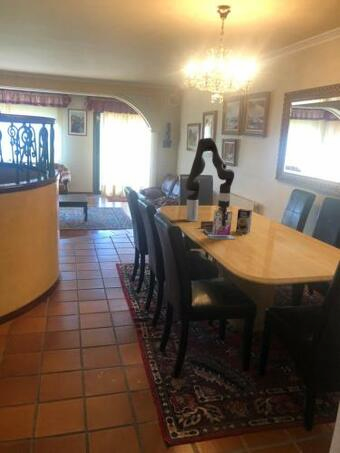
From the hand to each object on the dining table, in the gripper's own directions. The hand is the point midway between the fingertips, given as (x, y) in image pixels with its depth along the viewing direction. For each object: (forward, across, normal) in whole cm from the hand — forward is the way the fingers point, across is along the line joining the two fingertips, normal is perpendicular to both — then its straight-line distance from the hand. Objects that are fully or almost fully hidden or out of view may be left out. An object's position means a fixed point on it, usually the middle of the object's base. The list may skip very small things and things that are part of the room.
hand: (222, 224), depth 247 cm
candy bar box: (+7, 0, 0) cm, 7 cm away
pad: (+9, 0, 0) cm, 9 cm away
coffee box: (+9, -16, +22) cm, 29 cm away
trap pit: (+9, -11, 0) cm, 14 cm away
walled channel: (+9, -22, 0) cm, 24 cm away
